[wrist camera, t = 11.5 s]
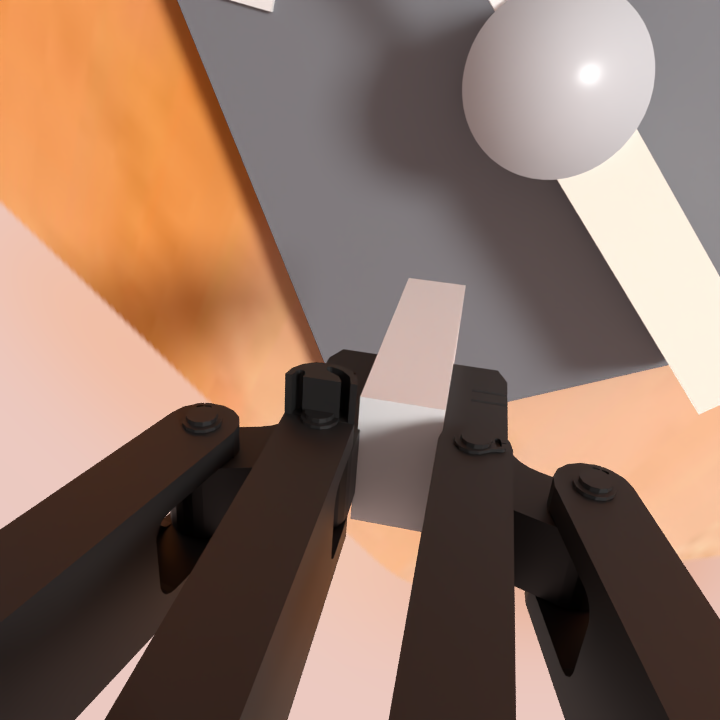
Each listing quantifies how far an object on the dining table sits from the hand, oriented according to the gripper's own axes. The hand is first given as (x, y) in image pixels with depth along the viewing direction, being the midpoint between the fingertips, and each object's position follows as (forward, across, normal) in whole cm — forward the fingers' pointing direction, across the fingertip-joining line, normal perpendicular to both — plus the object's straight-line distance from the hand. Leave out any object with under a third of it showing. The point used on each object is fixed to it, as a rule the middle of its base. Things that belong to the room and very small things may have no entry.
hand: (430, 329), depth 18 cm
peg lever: (+8, +2, +6) cm, 10 cm away
